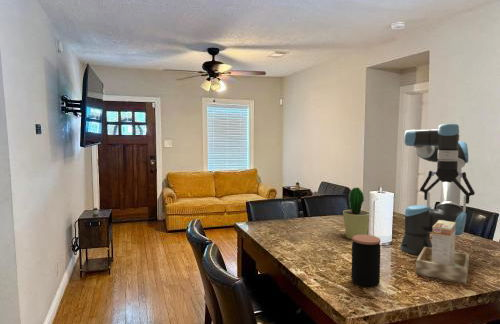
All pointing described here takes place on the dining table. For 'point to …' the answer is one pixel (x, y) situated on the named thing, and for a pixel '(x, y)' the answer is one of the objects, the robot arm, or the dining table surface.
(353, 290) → the dining table surface
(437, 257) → the coffeecake box
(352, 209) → the potted cactus
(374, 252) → the coffee jar
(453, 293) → the dining table surface
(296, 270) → the dining table surface
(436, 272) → the crate
